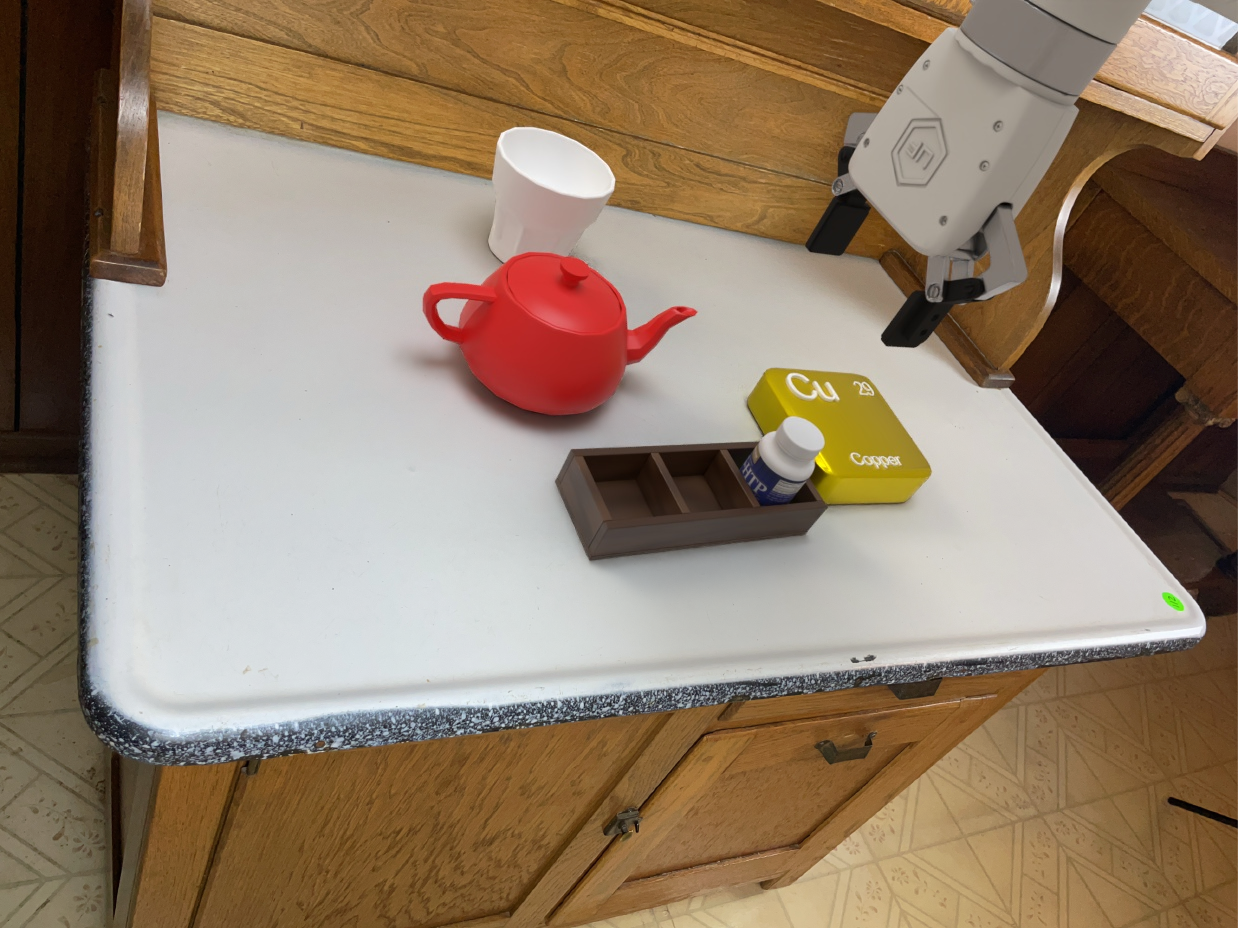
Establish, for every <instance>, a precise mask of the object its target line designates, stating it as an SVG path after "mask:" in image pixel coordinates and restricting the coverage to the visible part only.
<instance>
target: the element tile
mask: <svg viewBox="0 0 1238 928" xmlns="http://www.w3.org/2000/svg"><path fill="white" fill-rule="evenodd" d="M747 406H748V409H749V411H750V412H751V414H752V416H753V418H754V420H755V421H756V424H757V425H758V426H759V428H760V430H761V432H762V433H763V436H765V435H766V434H768V433H770V432H774V431H777V429H778V428H779V427H780V425H781V424H782V423H783V421H784V420H785V419H786V418H788V417H800V418H803V419H805V420H807V421H809V422H811V423H812V424H813V425H815V426H816V427H817V428H818V429H819V431H820V432H821V433H822V435H823V438H824V442H825V443H824V447H823V448H822V450H821V451H820V453H819V454H818V455H817V456H816V457H815V458H814V461H815V467H814V471H813V473H812V474H811V476H810V477H809V479H810V480H811V482H812V483H813V485H814V486H815V488H816V489H817V491H818V493H819V494H820V496H821V497H822V499H823V501H824V502H825V503H826V505H848V504H849V505H851V504H853V505H855V504H858V505H859V504H896V503H897V504H900V503H905V502H907V501H908V500H910V499H911V498H912V496H914V495H915V494H916V492H917V491H918V490H920V488H921V487H922V486H923V485H924V484H925V483H926V482H927V480H929V479H930V477H931V476H932V472H933V470H932V467H931V465H930V463H929V461H928V460H927V458H926V457H925V455H924V454H923V452H922V451H921V449H920V448H919V447H918V445H917V444H916V442H915V441H914V440H913V438H912V437H911V435H910V434H909V432H908V431H907V430H906V427H905V426H904V424H902V422H901V421H900V419H899V418H898V416H897V415H896V414H895V412H894V411H893V409H892V408H891V406H890V404H889V403H888V402H887V401H886V399H885V398H884V396H883V395H882V393H881V392H880V391H879V389H878V388H877V386H876V385H875V383H874V382H872V381H871V380H870V378H869V377H867V376H865V375H862V374H858V373H854V372H842V371H841V372H839V371H827V370H812V369H801V368H787V367H769V368H767V369H766V370H765V371H764V373H763V374H762V375H761V377H760V378H759V380H758V381H757V383H756V384H755V386H754V388H753V389H752V391H751V393H750V394H749V396H748V397H747Z"/></svg>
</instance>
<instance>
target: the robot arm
mask: <svg viewBox="0 0 1238 928" xmlns="http://www.w3.org/2000/svg"><path fill="white" fill-rule="evenodd" d="M968 1H969V3H970V5H972V6H971V8H970V9H969V11H968V13H967V15H966V16H965V18H964V19H963V21H962V23H961V24H960V26H959V27H958V28H956V27H952V26H948V27H946V28H945V29H944V30H943V31H942V32H941V33H940V34H939V35H938V37H936V38H935V40H934V41H932V43H931V44H930V45H929V46H928V48H927V49H926V50H925V51H924V52H923V53H922V55H920V57H918V59H917V60H916V62H915V63H914V64H913V65H912V66H911V68H910V69H909V70H908V71H907V73H905V75H904V77H903V78H902V79H901V81H900V82H899V83H898V85H897V86H896V88H895V89H894V91H893V92H892V93H891V95H890V96H889V98H888V99H887V101H886V102H885V103H884V105H883V106H882V107H881V108H880V110H879V111H878V112H859V111H855V112H853V113H851V114H850V116H849V117H848V120H847V123H846V124H847V125H846V129H845V134H844V137H843V142H842V143H843V144H844V145H843V146H842V147H841V148H840V150H839V151H838V154H837V177H836V178H835V179H833V181H832V183H831V189H830V190H831V193H832V195H833V196H834V197H832V199H831V201H830V202H829V204H828V205H827V207H826V209H825V210H824V212H823V214H822V215H821V217H820V219H819V221H818V222H817V224H816V225H815V227H814V228H813V230H812V232H811V233H810V236H809V237H808V238H807V241H806V242H805V244H804V246H805V247H804V248H806V250H807V251H808V252H809V253H813V254H819V255H820V254H821V255H827V256H836V257H841V256H842V255H843V254H844V253H845V252H846V250H847V248H848V247H849V245H850V244H851V242H852V240H853V239H854V238H855V236H856V234H857V233H858V232H859V230H860V228H861V227H862V225H863V223H864V222H865V220H866V219H867V217H868V216H869V214H870V211H871V209H872V207H873V208H874V209H875V210H876V211H877V212H878V213H879V214H880V216H881V217H882V218H883V219H884V220H885V221H886V222H887V223H888V224H889V225H890V226H891V227H892V228H893V229H894V231H895V232H896V233H897V234H898V235H899V236H900V237H901V238H902V239H903V240H904V241H905V242H906V243H907V244H908V245H909V246H910V247H911V248H912V249H913V250H915V251H916V252H917V253H919V254H921V255H923V256H927V264H926V265H927V267H926V275H925V285H924V286H925V287H924V290H920V289H916V290H914V291H913V292H911V294H910V295H909V296H908V297H907V299H906V300H905V301H904V303H903V304H902V306H901V307H900V309H899V310H898V311H897V312H896V314H895V315H894V317H892V319H891V320H890V322H889V323H888V325H887V326H886V327H885V329H884V330H883V332H882V333H881V335H880V341H881V342H882V343H883V344H884V346H885V347H889V348H890V347H891V348H909V349H915V348H918V347H919V346H921V345H922V344H923V343H925V342H926V341H928V339H929V338H930V337H931V335H932V334H933V333H934V332H935V330H936V329H938V328H937V327H938V326H939V325H940V324H941V323H942V321H943V320H944V319H945V318H946V316H947V315H948V314H949V313H950V311H951V310H952V309H953V308H954V306H956V305H957V306H958V305H959V306H964V305H967V304H972V303H981V302H987V301H991V300H993V299H994V297H996V295H1001V294H1003V293H1005V292H1006V291H1009V290H1011V289H1013V288H1015V287H1017V286H1019V285H1021V284H1023V283H1024V282H1025V281H1026V280H1027V279H1028V275H1029V272H1028V268H1027V263H1026V260H1025V256H1024V252H1023V250H1022V249H1023V248H1022V245H1021V242H1020V238H1019V235H1018V231H1017V227H1016V224H1015V219H1016V218H1017V216H1019V214H1020V212H1021V211H1022V209H1023V208H1024V207H1025V205H1026V204H1027V202H1028V201H1029V199H1030V198H1031V196H1032V195H1033V193H1034V192H1035V190H1036V189H1037V187H1038V186H1039V184H1040V182H1041V181H1042V179H1043V178H1044V176H1045V174H1046V173H1047V171H1048V170H1049V168H1050V166H1051V165H1052V163H1053V161H1054V160H1055V158H1056V156H1057V155H1058V153H1059V151H1060V149H1061V147H1062V145H1063V143H1064V142H1065V140H1066V139H1067V136H1068V134H1069V133H1070V131H1071V128H1072V127H1073V124H1074V122H1075V120H1076V119H1077V116H1078V114H1079V112H1080V109H1079V108H1078V107H1077V106H1076V105H1075V103H1076V102H1077V100H1078V99H1079V98H1080V97H1081V95H1082V94H1083V92H1084V91H1085V90H1086V89H1087V87H1088V86H1089V85H1090V83H1091V82H1092V81H1093V80H1094V78H1095V77H1096V75H1097V74H1098V73H1099V71H1100V70H1101V69H1102V67H1103V66H1104V65H1105V63H1106V62H1108V60H1109V58H1110V57H1111V56H1112V54H1113V53H1114V51H1115V50H1116V48H1118V45H1119V44H1120V43H1121V42H1122V40H1123V39H1124V38H1125V37H1126V35H1128V33H1129V31H1130V29H1131V27H1133V25H1134V24H1135V23H1136V22H1137V21H1138V19H1139V18H1140V17H1141V15H1143V13H1144V11H1145V10H1146V9H1147V8H1148V6H1149V5H1150V3H1151V2H1152V1H1153V0H968ZM1189 1H1190V2H1192V3H1194V4H1198V5H1200V6H1203V7H1205V8H1206V9H1208V10H1210V11H1212V12H1213V13H1216V14H1218V15H1219V16H1221V17H1224V18H1225V19H1227V20H1229V21H1231V22H1234V23H1235V24H1237V25H1238V0H1189ZM867 201H868V203H867ZM986 255H989V259H990V263H989V266H988V268H987V269H986V270H984V271H982V272H981V273H980V274H978V275H976V276H975V277H974V274H975V273H974V272H975V264H976V263H977V262H979V261H980V260H981V259H983V258H984V257H985V256H986ZM950 267H951V268H950ZM950 270H951V272H950ZM949 278H950V279H949Z"/></svg>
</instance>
